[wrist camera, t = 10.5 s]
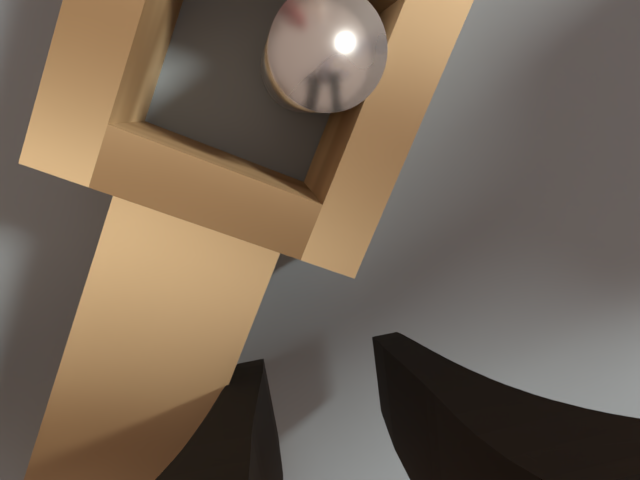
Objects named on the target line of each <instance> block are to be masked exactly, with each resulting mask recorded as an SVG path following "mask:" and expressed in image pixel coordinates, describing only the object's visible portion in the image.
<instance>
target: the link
mask: <svg viewBox="0 0 640 480" xmlns="http://www.w3.org/2000/svg"><path fill="white" fill-rule="evenodd" d="M368 1H369V2H370V3H371V5H372V6H373V7H374V9H375V10H376V11H377V13H378V15H379V16H380V18H381V21H382V23H383V25H384V29H385V32H386V37H387V47H388V52H387V61H386V66H385V69H384V72H383V75H382V77H381V79H380V81H379V83H378V85H377V86H376V88H375V89H374V91H373V92H372V93H371V94H370V95H369V96H368V97H367V98H366V99H365V100H364V101H362V102H361V103H359V104H358V105H356V106H354V107H352V108H350V109H347V110H345V111H341V112H335V113H330V116H329V118H328V121H327V124H326V126H325V129H324V131H323V134H322V136H321V139H320V142H319V144H318V147H317V149H316V152H315V154H314V157H313V159H312V162H311V165H310V167H309V170H308V172H307V175H306V177H305V180H304V182H303V181H300V180H297V179H295V178H292V177H289V176H287V175H284V174H282V173H279V172H276V171H274V170H271V169H269V168H266V167H263V166H261V165H258V164H256V163H253V162H250V161H248V160H245V159H243V158H240V157H237V156H235V155H232V154H230V153H227V152H224V151H222V150H219V149H216V148H214V147H211V146H209V145H206V144H203V143H201V142H198V141H196V140H193V139H190V138H188V137H185V136H183V135H180V134H177V133H175V132H172V131H170V130H167V129H164V128H162V127H159V126H157V125H154V124H151V123H149V122H146V121H145V119H146V116H147V113H148V110H149V107H150V103H151V100H152V97H153V94H154V91H155V88H156V85H157V81H158V78H159V75H160V72H161V69H162V66H163V62H164V59H165V56H166V53H167V50H168V47H169V44H170V40H171V37H172V34H173V31H174V28H175V25H176V22H177V18H178V15H179V12H180V9H181V6H182V3H183V0H63V1H62V4H61V8H60V12H59V15H58V19H57V23H56V27H55V30H54V34H53V38H52V41H51V45H50V49H49V52H48V56H47V60H46V63H45V67H44V71H43V74H42V78H41V82H40V85H39V89H38V93H37V96H36V100H35V104H34V107H33V111H32V115H31V118H30V122H29V126H28V129H27V133H26V137H25V141H24V144H23V148H22V152H21V155H20V159H19V164H22V165H25V166H27V167H30V168H33V169H36V170H39V171H42V172H45V173H48V174H51V175H54V176H57V177H60V178H62V179H65V180H68V181H71V182H74V183H77V184H80V185H83V186H86V187H89V188H92V189H95V190H97V191H100V192H103V193H106V194H109V195H112V196H113V197H112V200H111V204H110V207H109V210H108V213H107V216H106V220H105V223H104V226H103V229H102V232H101V235H100V239H99V242H98V245H97V248H96V251H95V255H94V258H93V261H92V264H91V267H90V270H89V274H88V277H87V280H86V283H85V286H84V290H83V293H82V296H81V299H80V302H79V305H78V309H77V312H76V315H75V318H74V321H73V325H72V328H71V331H70V334H69V337H68V340H67V344H66V347H65V350H64V353H63V356H62V359H61V363H60V366H59V369H58V372H57V375H56V379H55V382H54V385H53V388H52V391H51V394H50V398H49V401H48V404H47V407H46V410H45V414H44V417H43V420H42V423H41V426H40V429H39V433H38V436H37V439H36V442H35V445H34V449H33V452H32V455H31V458H30V461H29V464H28V468H27V471H26V474H25V477H24V480H155V479H156V478H157V477H158V476H159V475H160V474H161V473H162V472H163V471H164V470H165V468H166V467H167V466H168V465H169V464H170V463H171V462H172V461H173V460H174V458H175V457H176V456H177V455H178V454H179V452H180V451H181V450H182V449H183V447H184V446H185V445H186V444H187V442H188V441H189V439H190V438H191V437H192V435H193V434H194V432H195V431H196V430H197V428H198V427H199V426H200V424H201V423H202V421H203V420H204V418H205V417H206V415H207V414H208V412H209V411H210V409H211V407H212V406H213V404H214V403H215V401H216V399H217V398H218V396H219V394H220V393H221V391H222V390H223V389H224V387H225V386H226V385H229V382H230V380H231V377H232V375H233V372H234V370H235V367H236V365H237V362H238V360H239V357H240V354H241V352H242V349H243V347H244V344H245V342H246V339H247V337H248V334H249V332H250V329H251V326H252V324H253V321H254V319H255V316H256V314H257V311H258V309H259V306H260V303H261V301H262V298H263V296H264V293H265V291H266V288H267V286H268V283H269V281H270V278H271V275H272V273H273V270H274V268H275V265H276V263H277V260H278V258H279V255H280V253H281V254H284V255H287V256H290V257H293V258H296V259H299V260H301V261H304V262H307V263H310V264H313V265H316V266H319V267H322V268H325V269H328V270H331V271H333V272H336V273H339V274H342V275H345V276H348V277H351V278H354V279H355V276H356V274H357V272H358V269H359V267H360V265H361V262H362V260H363V258H364V255H365V253H366V251H367V248H368V246H369V244H370V241H371V239H372V237H373V234H374V232H375V230H376V227H377V225H378V223H379V220H380V218H381V216H382V213H383V211H384V209H385V206H386V204H387V202H388V199H389V197H390V195H391V192H392V190H393V188H394V185H395V183H396V181H397V178H398V176H399V174H400V171H401V169H402V167H403V164H404V162H405V160H406V157H407V155H408V153H409V150H410V148H411V146H412V143H413V141H414V139H415V136H416V134H417V132H418V129H419V127H420V125H421V122H422V120H423V118H424V115H425V113H426V111H427V108H428V106H429V104H430V101H431V99H432V97H433V94H434V92H435V90H436V87H437V85H438V83H439V80H440V78H441V76H442V73H443V71H444V69H445V66H446V64H447V62H448V59H449V57H450V55H451V52H452V50H453V48H454V45H455V43H456V41H457V38H458V36H459V34H460V31H461V29H462V27H463V24H464V22H465V20H466V17H467V15H468V13H469V10H470V8H471V6H472V3H473V1H474V0H368Z"/></svg>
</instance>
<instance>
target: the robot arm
mask: <svg viewBox="0 0 640 480" xmlns="http://www.w3.org/2000/svg"><path fill="white" fill-rule="evenodd" d="M372 341H373V349H374V357H375V366H376V374H377V382H378V391H379V399H380V407H381V413H382V416H383V419H384V421H385V424H386V427H387V430H388V433H389V435H390V438H391V441H392V444H393V446H394V449H395V451H396V453H397V455H398V457H399V459H400V461H401V463H402V465H403V467H404V469H405V471H406V473H407V475H408V477H409V479H410V480H640V418H634V417H628V416H622V415H617V414H611V413H606V412H601V411H596V410H592V409H587V408H583V407H579V406H575V405H571V404H567V403H563V402H559V401H555V400H551V399H548V398H545V397H541V396H538V395H535V394H532V393H529V392H526V391H523V390H520V389H517V388H514V387H511V386H508V385H505V384H503V383H500V382H498V381H495V380H493V379H490V378H488V377H486V376H483V375H481V374H479V373H477V372H474V371H472V370H470V369H468V368H465V367H463V366H461V365H459V364H457V363H455V362H453V361H451V360H449V359H447V358H445V357H443V356H441V355H440V354H438V353H436V352H434V351H432V350H430V349H428V348H427V347H425V346H423V345H421V344H419V343H417V342H416V341H414V340H412V339H410V338H408V337H407V336H405V335H403V334H401V333H398V332H394V333H389V334H384V335H379V336H374V337H372ZM155 480H283V469H282V461H281V453H280V445H279V437H278V431H277V426H276V420H275V415H274V410H273V405H272V400H271V394H270V389H269V384H268V379H267V373H266V368H265V363H264V359H259V360H254V361H249V362H244V363H239V364H237V365H236V367H235V370H234V372H233V375H232V377H231V380H230V382H229V385H226V386H225V387H224V389H223V390H222V391H221V393H220V394H219V396H218V398H217V399H216V401H215V403H214V404H213V406H212V407H211V409H210V411H209V412H208V414H207V415H206V417H205V418H204V420H203V421H202V423H201V424H200V426H199V427H198V428H197V430H196V431H195V432H194V434H193V435H192V437H191V438H190V439H189V441H188V442H187V444H186V445H185V446H184V447H183V449H182V450H181V451H180V452H179V454H178V455H177V456H176V457H175V458H174V460H173V461H172V462H171V463H170V464H169V465H168V466H167V467H166V468H165V470H164V471H163V472H162V473H161V474H160V475H159V476H158V477H157V478H156V479H155Z"/></svg>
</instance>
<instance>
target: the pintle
mask: <svg viewBox="0 0 640 480" xmlns="http://www.w3.org/2000/svg"><path fill="white" fill-rule="evenodd" d="M387 52H388V47H387V37H386V32H385V29H384V25H383V23H382V21H381V18H380V16H379V15H378V13H377V11H376V10H375V9H374V7H373V6H372V5H371V3H370V2H369V1H368V0H287V1H286V2H285V3H284V4H283V6H282V7H281V8H280V9H279V11H278V13H277V14H276V16H275V18H274V21H273V23H272V26H271V29H270V32H269V35H268V38H267V41H266V44H265V47H264V50H263V54H262V57H261V67H260V70H261V77H262V81H263V84H264V86H265V88H266V90H267V92H268V94H269V95H270V96H271V98H272V99H273V100H274V101H275V102H276V103H278V104H279V105H280V106H282V107H283V108H286V109H288V110H290V111H294V112H300V113H335V112H341V111H345V110H347V109H350V108H352V107H354V106H356V105H358V104H359V103H361V102H362V101H364V100H365V99H366V98H367V97H368V96H369V95H370V94H371V93H372V92H373V91H374V89H375V88H376V86H377V85H378V83H379V81H380V79H381V77H382V75H383V72H384V69H385V66H386V61H387Z"/></svg>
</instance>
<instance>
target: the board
mask: <svg viewBox="0 0 640 480" xmlns="http://www.w3.org/2000/svg"><path fill="white" fill-rule="evenodd" d="M62 1H63V0H0V480H24V477H25V474H26V471H27V468H28V464H29V461H30V458H31V455H32V452H33V449H34V445H35V442H36V439H37V436H38V433H39V429H40V426H41V423H42V420H43V417H44V414H45V410H46V407H47V404H48V401H49V398H50V394H51V391H52V388H53V385H54V382H55V379H56V375H57V372H58V369H59V366H60V363H61V359H62V356H63V353H64V350H65V347H66V344H67V340H68V337H69V334H70V331H71V328H72V325H73V321H74V318H75V315H76V312H77V309H78V305H79V302H80V299H81V296H82V293H83V290H84V286H85V283H86V280H87V277H88V274H89V270H90V267H91V264H92V261H93V258H94V255H95V251H96V248H97V245H98V242H99V239H100V235H101V232H102V229H103V226H104V223H105V220H106V216H107V213H108V210H109V207H110V204H111V200H112V197H113V196H112V195H109V194H106V193H103V192H100V191H97V190H95V189H92V188H89V187H86V186H83V185H80V184H77V183H74V182H71V181H68V180H65V179H62V178H60V177H57V176H54V175H51V174H48V173H45V172H42V171H39V170H36V169H33V168H30V167H27V166H25V165H22V164H19V159H20V155H21V152H22V148H23V144H24V141H25V137H26V133H27V129H28V126H29V122H30V118H31V115H32V111H33V107H34V104H35V100H36V96H37V93H38V89H39V85H40V82H41V78H42V74H43V71H44V67H45V63H46V60H47V56H48V52H49V49H50V45H51V41H52V38H53V34H54V30H55V27H56V23H57V19H58V15H59V12H60V8H61V4H62ZM286 1H287V0H183V3H182V6H181V9H180V12H179V15H178V18H177V22H176V25H175V28H174V31H173V34H172V37H171V40H170V44H169V47H168V50H167V53H166V56H165V59H164V62H163V66H162V69H161V72H160V75H159V78H158V81H157V85H156V88H155V91H154V94H153V97H152V100H151V103H150V107H149V110H148V113H147V116H146V119H145V121H146V122H149V123H151V124H154V125H157V126H159V127H162V128H164V129H167V130H170V131H172V132H175V133H177V134H180V135H183V136H185V137H188V138H190V139H193V140H196V141H198V142H201V143H203V144H206V145H209V146H211V147H214V148H216V149H219V150H222V151H224V152H227V153H230V154H232V155H235V156H237V157H240V158H243V159H245V160H248V161H250V162H253V163H256V164H258V165H261V166H263V167H266V168H269V169H271V170H274V171H276V172H279V173H282V174H284V175H287V176H289V177H292V178H295V179H297V180H300V181H303V182H304V180H305V177H306V175H307V172H308V170H309V167H310V165H311V162H312V159H313V157H314V154H315V152H316V149H317V147H318V144H319V142H320V139H321V136H322V134H323V131H324V129H325V126H326V124H327V121H328V118H329V116H330V113H300V112H294V111H290V110H288V109H286V108H283V107H282V106H280V105H279V104H278V103H276V102H275V101H274V100H273V99H272V98H271V96H270V95H269V94H268V92H267V90H266V88H265V86H264V84H263V81H262V77H261V70H260V67H261V57H262V54H263V50H264V47H265V44H266V41H267V38H268V35H269V32H270V29H271V26H272V23H273V21H274V18H275V16H276V14H277V13H278V11H279V9H280V8H281V7H282V6H283V4H284V3H285V2H286ZM394 332H398V333H401V334H403V335H405V336H407V337H408V338H410V339H412V340H414V341H416V342H417V343H419V344H421V345H423V346H425V347H427V348H428V349H430V350H432V351H434V352H436V353H438V354H440V355H441V356H443V357H445V358H447V359H449V360H451V361H453V362H455V363H457V364H459V365H461V366H463V367H465V368H468V369H470V370H472V371H474V372H477V373H479V374H481V375H483V376H486V377H488V378H490V379H493V380H495V381H498V382H500V383H503V384H505V385H508V386H511V387H514V388H517V389H520V390H523V391H526V392H529V393H532V394H535V395H538V396H541V397H545V398H548V399H551V400H555V401H559V402H563V403H567V404H571V405H575V406H579V407H583V408H587V409H592V410H596V411H601V412H606V413H611V414H617V415H622V416H628V417H634V418H640V0H474V1H473V3H472V6H471V8H470V10H469V13H468V15H467V17H466V20H465V22H464V24H463V27H462V29H461V31H460V34H459V36H458V38H457V41H456V43H455V45H454V48H453V50H452V52H451V55H450V57H449V59H448V62H447V64H446V66H445V69H444V71H443V73H442V76H441V78H440V80H439V83H438V85H437V87H436V90H435V92H434V94H433V97H432V99H431V101H430V104H429V106H428V108H427V111H426V113H425V115H424V118H423V120H422V122H421V125H420V127H419V129H418V132H417V134H416V136H415V139H414V141H413V143H412V146H411V148H410V150H409V153H408V155H407V157H406V160H405V162H404V164H403V167H402V169H401V171H400V174H399V176H398V178H397V181H396V183H395V185H394V188H393V190H392V192H391V195H390V197H389V199H388V202H387V204H386V206H385V209H384V211H383V213H382V216H381V218H380V220H379V223H378V225H377V227H376V230H375V232H374V234H373V237H372V239H371V241H370V244H369V246H368V248H367V251H366V253H365V255H364V258H363V260H362V262H361V265H360V267H359V269H358V272H357V274H356V276H355V279H354V278H351V277H348V276H345V275H342V274H339V273H336V272H333V271H331V270H328V269H325V268H322V267H319V266H316V265H313V264H310V263H307V262H304V261H301V260H299V259H296V258H293V257H290V256H287V255H284V254H281V253H280V255H279V258H278V260H277V263H276V265H275V268H274V270H273V273H272V275H271V278H270V281H269V283H268V286H267V288H266V291H265V293H264V296H263V298H262V301H261V303H260V306H259V309H258V311H257V314H256V316H255V319H254V321H253V324H252V326H251V329H250V332H249V334H248V337H247V339H246V342H245V344H244V347H243V349H242V352H241V354H240V357H239V360H238V362H237V364H239V363H244V362H249V361H254V360H259V359H264V363H265V368H266V373H267V379H268V384H269V389H270V394H271V400H272V405H273V410H274V415H275V420H276V426H277V431H278V437H279V445H280V453H281V461H282V469H283V480H410V479H409V477H408V475H407V473H406V471H405V469H404V467H403V465H402V463H401V461H400V459H399V457H398V455H397V453H396V451H395V449H394V446H393V444H392V441H391V438H390V435H389V433H388V430H387V427H386V424H385V421H384V419H383V416H382V413H381V407H380V399H379V391H378V382H377V374H376V366H375V357H374V349H373V341H372V337H374V336H379V335H384V334H389V333H394Z"/></svg>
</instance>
